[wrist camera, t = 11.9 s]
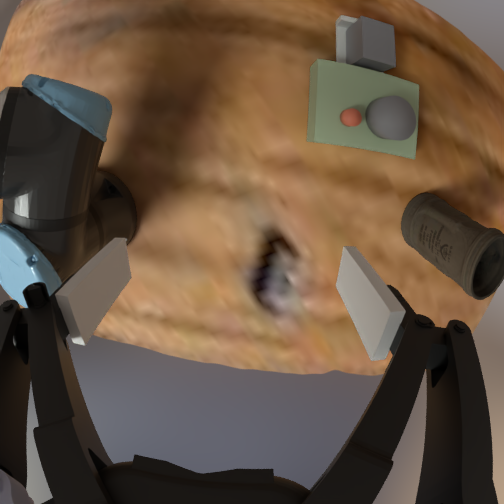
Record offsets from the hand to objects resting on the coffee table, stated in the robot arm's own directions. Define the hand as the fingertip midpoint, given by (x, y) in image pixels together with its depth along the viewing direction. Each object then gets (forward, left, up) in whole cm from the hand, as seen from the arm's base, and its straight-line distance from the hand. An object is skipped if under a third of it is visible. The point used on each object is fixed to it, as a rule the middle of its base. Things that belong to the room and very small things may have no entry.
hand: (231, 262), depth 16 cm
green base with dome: (+17, +18, -27) cm, 36 cm away
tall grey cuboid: (+17, +23, -26) cm, 39 cm away
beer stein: (+35, -3, -27) cm, 44 cm away
